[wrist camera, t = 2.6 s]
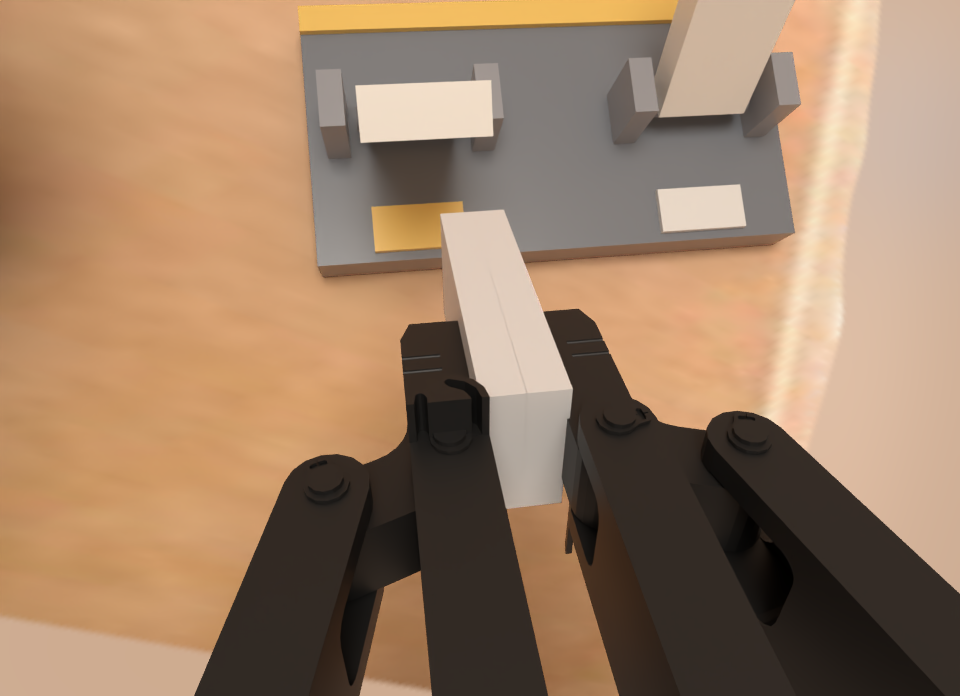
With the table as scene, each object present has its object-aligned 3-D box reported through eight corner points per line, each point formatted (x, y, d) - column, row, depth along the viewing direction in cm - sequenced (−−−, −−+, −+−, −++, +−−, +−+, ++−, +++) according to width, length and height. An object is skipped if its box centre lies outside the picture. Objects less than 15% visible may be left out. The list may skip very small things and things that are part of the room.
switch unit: (322, 277, 32) (307, 245, 27) (304, 33, 34) (287, -41, 28) (772, 244, 35) (836, 210, 30) (737, 20, 36) (792, -50, 31)
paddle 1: (358, 138, 31) (350, 143, 21) (355, 100, 30) (344, 85, 20) (462, 133, 31) (502, 135, 21) (460, 95, 31) (501, 79, 21)
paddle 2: (649, 126, 32) (733, -134, 23) (640, 103, 32) (718, -156, 24) (745, 122, 32) (864, -134, 23) (734, 99, 33) (844, -156, 24)
